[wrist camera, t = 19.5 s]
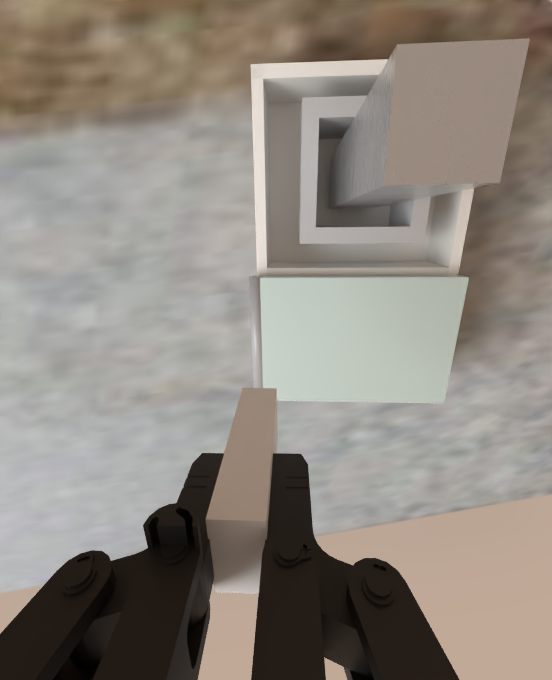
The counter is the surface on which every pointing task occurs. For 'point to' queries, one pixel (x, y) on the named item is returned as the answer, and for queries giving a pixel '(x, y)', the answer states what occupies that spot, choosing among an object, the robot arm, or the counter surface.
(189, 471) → the robot arm
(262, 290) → the lid
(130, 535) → the counter surface
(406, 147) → the rectangular gray bar
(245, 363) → the counter surface
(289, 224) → the housing
